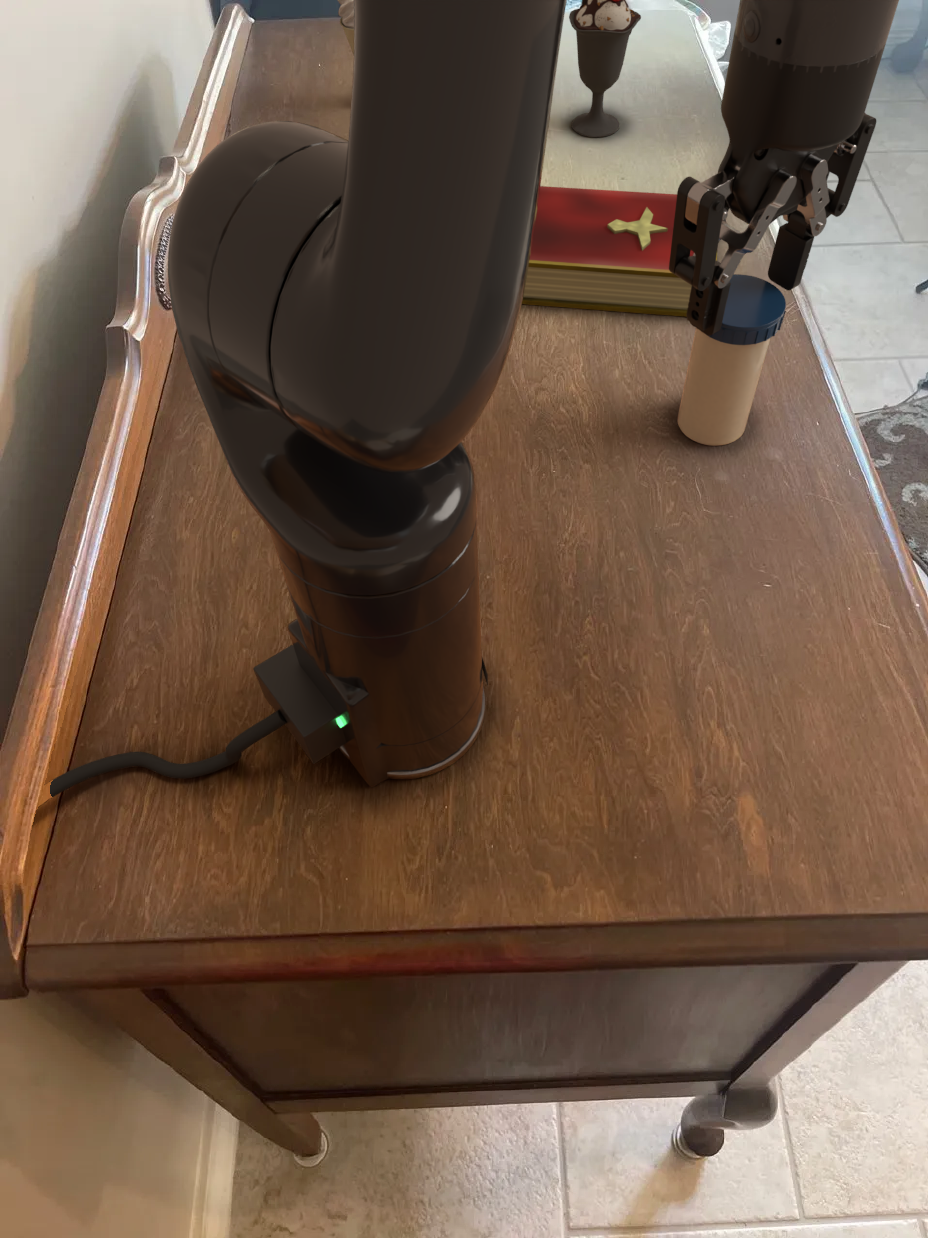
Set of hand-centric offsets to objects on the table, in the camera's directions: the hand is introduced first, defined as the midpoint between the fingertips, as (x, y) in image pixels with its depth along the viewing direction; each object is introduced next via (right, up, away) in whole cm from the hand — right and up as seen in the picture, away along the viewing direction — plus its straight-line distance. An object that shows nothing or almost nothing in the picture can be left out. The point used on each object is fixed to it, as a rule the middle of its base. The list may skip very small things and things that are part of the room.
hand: (743, 304), depth 60 cm
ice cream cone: (-28, +39, +33) cm, 59 cm away
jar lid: (0, 0, 0) cm, 0 cm away
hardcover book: (-7, +10, +21) cm, 24 cm away
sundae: (-5, +30, +35) cm, 46 cm away
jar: (0, -6, +8) cm, 10 cm away
